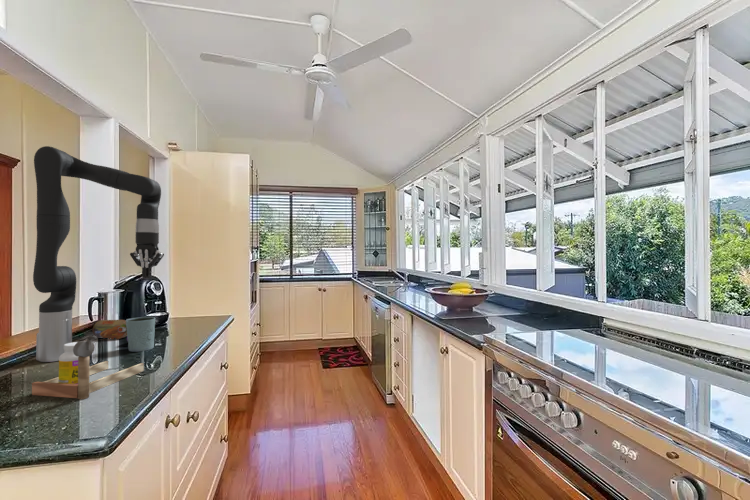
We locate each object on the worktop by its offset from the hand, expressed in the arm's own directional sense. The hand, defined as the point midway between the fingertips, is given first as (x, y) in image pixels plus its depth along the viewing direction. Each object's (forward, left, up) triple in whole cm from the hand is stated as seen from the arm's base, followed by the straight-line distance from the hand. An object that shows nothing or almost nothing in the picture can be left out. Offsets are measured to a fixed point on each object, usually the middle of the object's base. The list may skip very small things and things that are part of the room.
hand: (146, 277), depth 144 cm
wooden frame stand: (+8, -30, -29) cm, 42 cm away
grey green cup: (-9, +8, -29) cm, 32 cm away
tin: (-35, +22, -29) cm, 51 cm away
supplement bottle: (+6, -35, -29) cm, 46 cm away
